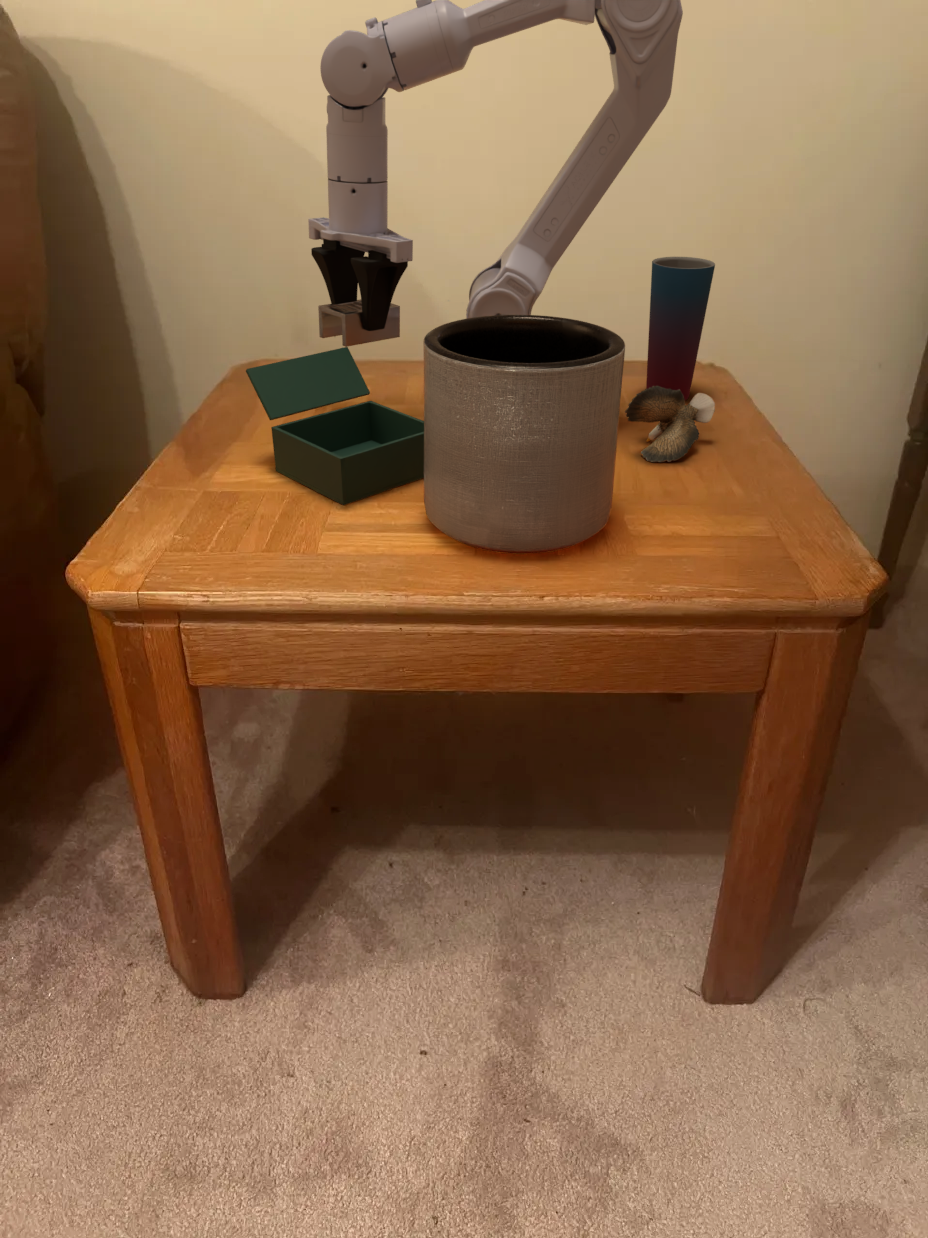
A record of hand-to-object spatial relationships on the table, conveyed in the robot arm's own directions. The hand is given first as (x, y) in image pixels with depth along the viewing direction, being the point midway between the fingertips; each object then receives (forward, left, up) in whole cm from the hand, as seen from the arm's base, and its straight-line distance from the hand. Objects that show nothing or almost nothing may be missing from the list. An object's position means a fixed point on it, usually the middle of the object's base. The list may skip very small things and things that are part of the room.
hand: (359, 323), depth 98 cm
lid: (+8, +6, -3) cm, 11 cm away
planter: (-2, +29, -11) cm, 31 cm away
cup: (-35, +8, -11) cm, 38 cm away
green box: (+6, +13, -10) cm, 18 cm away
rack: (0, 0, -1) cm, 1 cm away
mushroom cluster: (-24, +21, -11) cm, 34 cm away
